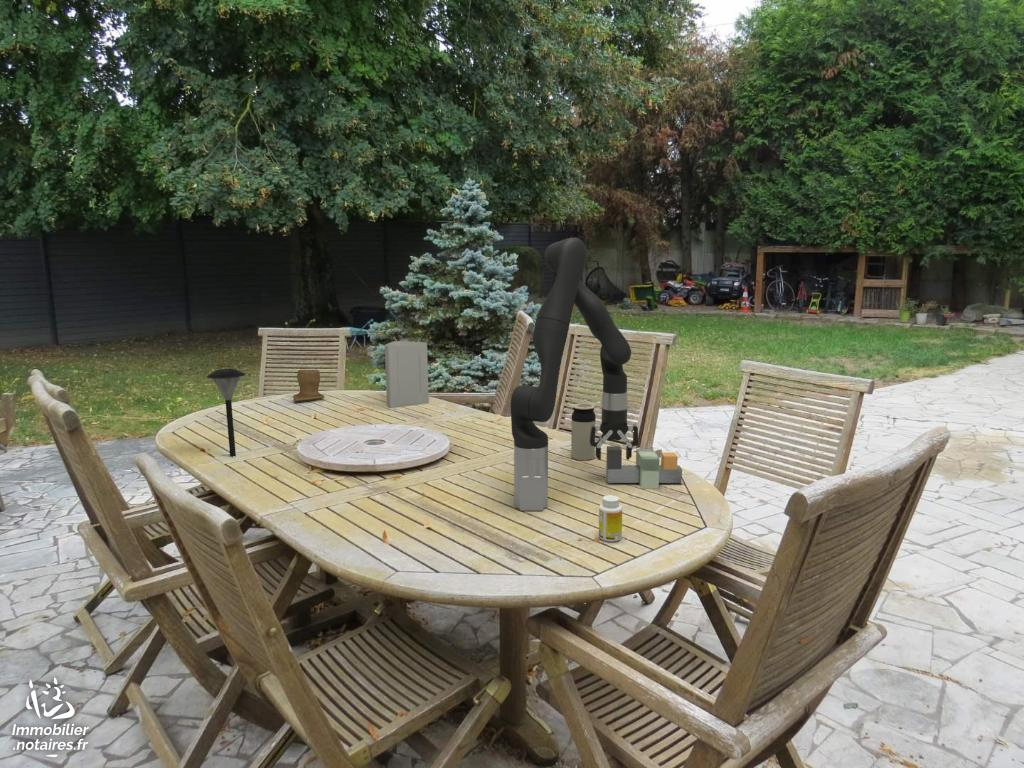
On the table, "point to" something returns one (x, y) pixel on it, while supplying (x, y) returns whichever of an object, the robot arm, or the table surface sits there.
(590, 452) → the travel mug
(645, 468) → the bearing bridge
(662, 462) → the block
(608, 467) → the grey l-shaped bracket
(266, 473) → the table surface
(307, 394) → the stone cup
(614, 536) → the supplement bottle
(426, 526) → the table surface
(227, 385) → the solar garden light
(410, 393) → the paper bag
